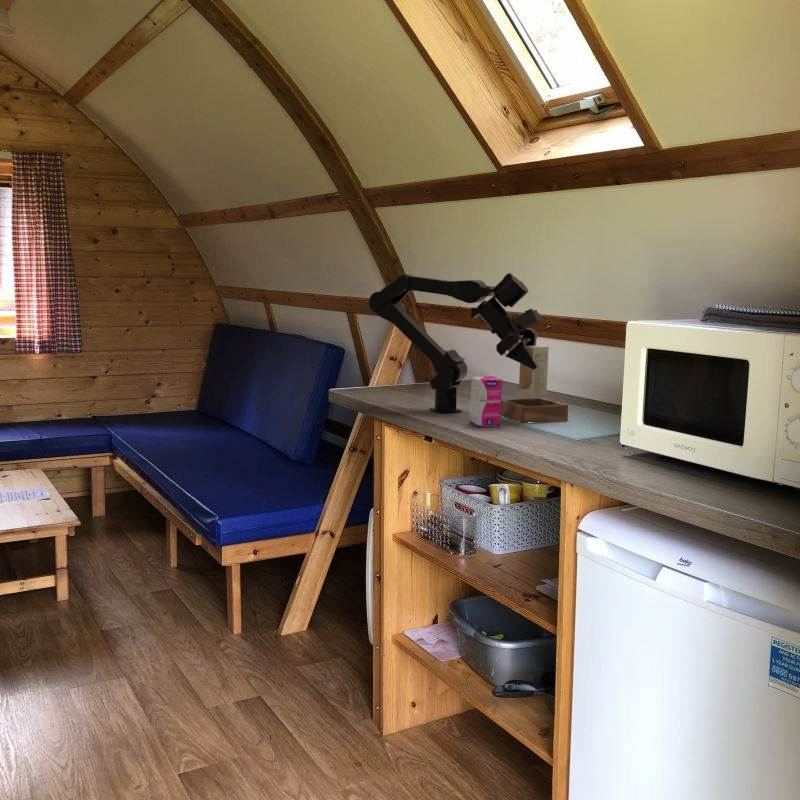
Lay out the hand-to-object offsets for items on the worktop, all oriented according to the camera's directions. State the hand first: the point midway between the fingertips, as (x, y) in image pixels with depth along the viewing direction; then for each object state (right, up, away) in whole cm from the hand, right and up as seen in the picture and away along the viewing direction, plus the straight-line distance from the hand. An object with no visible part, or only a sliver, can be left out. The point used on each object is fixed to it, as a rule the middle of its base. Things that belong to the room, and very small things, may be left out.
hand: (539, 366), depth 220 cm
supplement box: (-14, -14, -8) cm, 22 cm away
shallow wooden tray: (-1, -13, +3) cm, 13 cm away
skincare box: (-2, -7, +2) cm, 7 cm away
